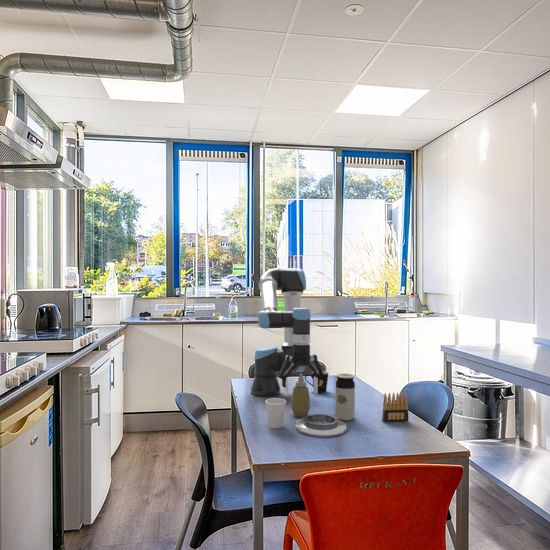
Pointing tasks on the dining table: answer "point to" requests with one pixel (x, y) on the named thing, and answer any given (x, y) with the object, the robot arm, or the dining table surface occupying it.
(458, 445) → the dining table surface
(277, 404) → the dixie cup
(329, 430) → the rosette plate
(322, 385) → the coffee mug
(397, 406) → the ammunition clip
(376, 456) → the dining table surface
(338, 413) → the travel mug
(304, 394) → the squeeze bottle
